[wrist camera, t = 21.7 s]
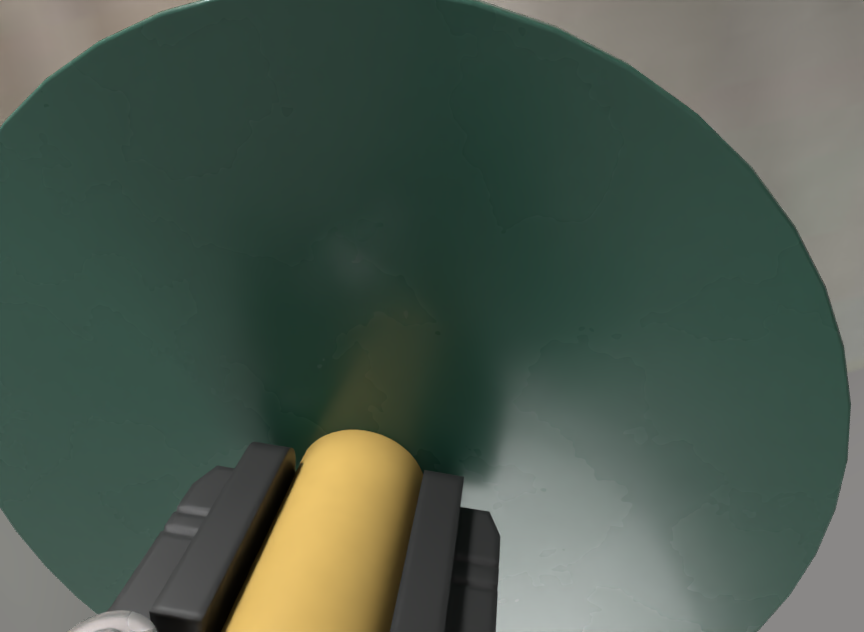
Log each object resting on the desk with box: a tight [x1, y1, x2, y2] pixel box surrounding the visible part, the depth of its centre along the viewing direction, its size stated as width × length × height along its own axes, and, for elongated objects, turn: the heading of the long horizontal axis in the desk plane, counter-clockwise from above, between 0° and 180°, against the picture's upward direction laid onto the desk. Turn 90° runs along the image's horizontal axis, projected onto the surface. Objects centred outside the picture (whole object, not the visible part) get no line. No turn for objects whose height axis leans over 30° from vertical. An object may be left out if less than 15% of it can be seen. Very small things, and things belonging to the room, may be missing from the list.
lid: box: [0, 0, 851, 632], centre depth 10 cm, size 17×17×6 cm
